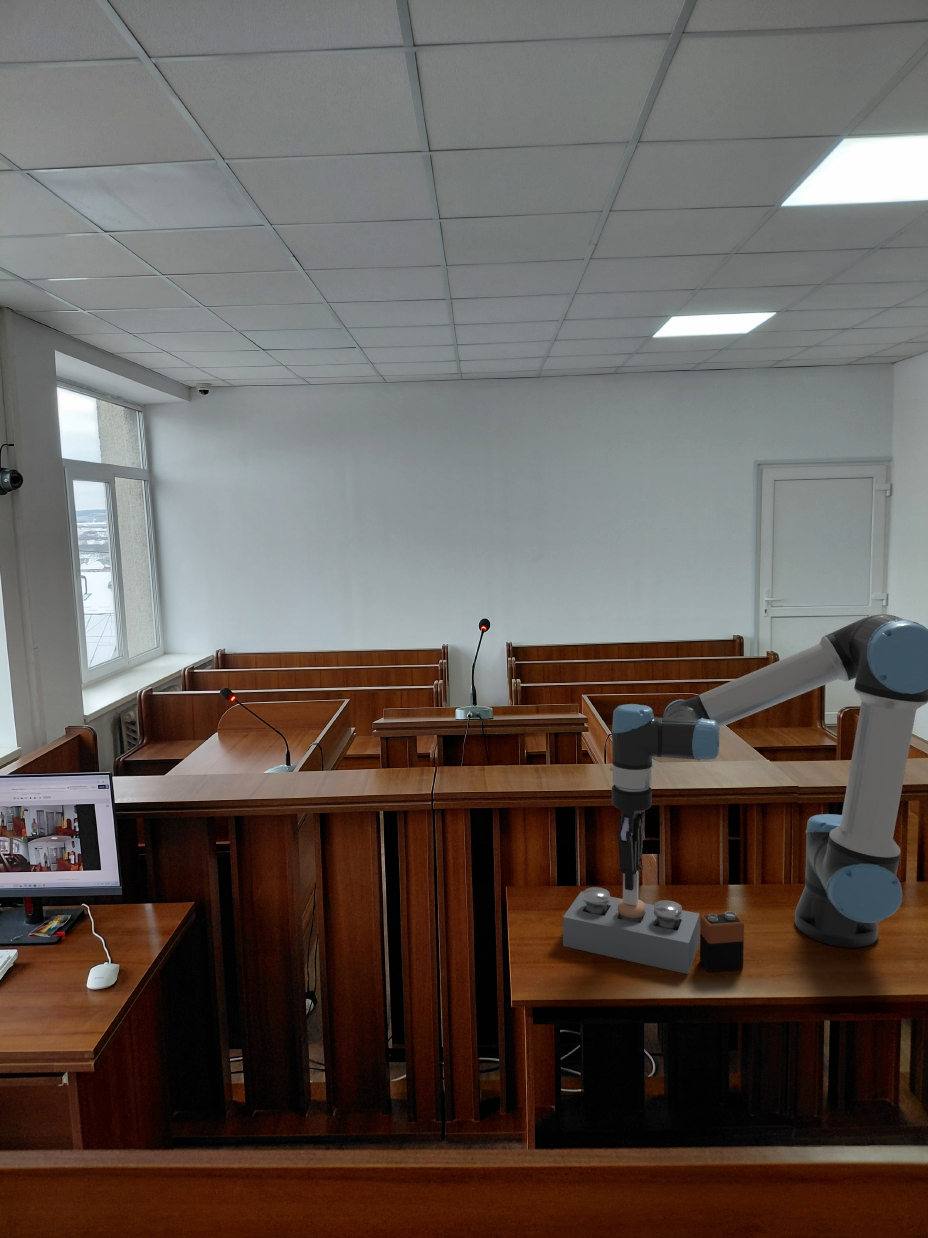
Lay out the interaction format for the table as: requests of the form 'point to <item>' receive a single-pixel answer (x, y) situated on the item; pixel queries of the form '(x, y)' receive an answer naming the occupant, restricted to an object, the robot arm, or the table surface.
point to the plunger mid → (631, 911)
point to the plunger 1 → (596, 900)
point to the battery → (721, 942)
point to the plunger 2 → (667, 914)
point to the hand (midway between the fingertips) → (630, 902)
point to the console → (632, 936)
